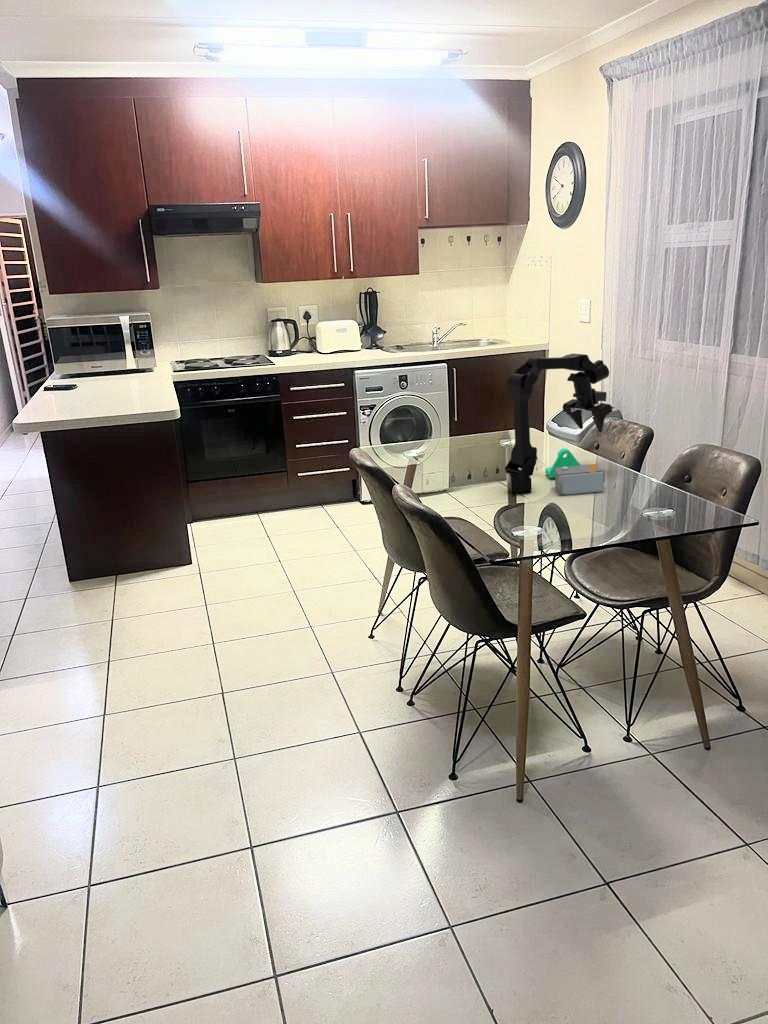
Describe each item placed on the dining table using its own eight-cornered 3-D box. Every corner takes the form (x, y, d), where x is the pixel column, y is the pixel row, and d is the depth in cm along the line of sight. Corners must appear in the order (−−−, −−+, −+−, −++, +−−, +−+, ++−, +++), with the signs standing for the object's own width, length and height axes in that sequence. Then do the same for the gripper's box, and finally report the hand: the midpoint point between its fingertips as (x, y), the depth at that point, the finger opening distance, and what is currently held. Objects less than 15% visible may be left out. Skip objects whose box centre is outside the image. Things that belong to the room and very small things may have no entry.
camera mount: (578, 471, 271) (577, 443, 268) (584, 477, 264) (583, 448, 261) (545, 474, 271) (543, 447, 268) (550, 480, 264) (548, 452, 261)
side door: (559, 495, 247) (558, 467, 244) (559, 494, 248) (557, 466, 245) (603, 491, 246) (603, 463, 243) (603, 490, 247) (602, 462, 244)
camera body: (559, 494, 248) (558, 472, 246) (555, 487, 256) (554, 466, 253) (606, 490, 247) (605, 468, 244) (600, 483, 254) (600, 461, 252)
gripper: (620, 382, 254) (627, 424, 260) (580, 378, 270) (588, 418, 276) (596, 395, 250) (604, 437, 256) (557, 390, 266) (566, 430, 272)
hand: (590, 430), depth 265 cm, fingers open, 9 cm apart
